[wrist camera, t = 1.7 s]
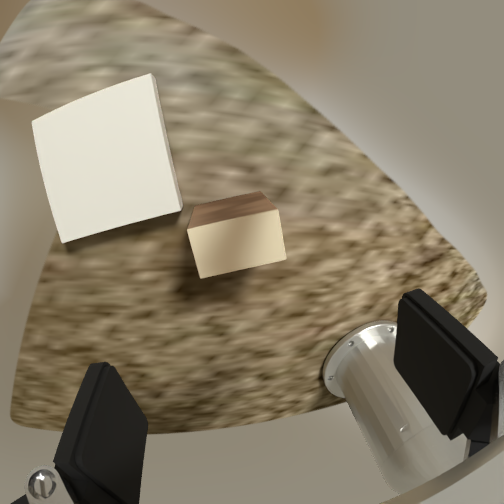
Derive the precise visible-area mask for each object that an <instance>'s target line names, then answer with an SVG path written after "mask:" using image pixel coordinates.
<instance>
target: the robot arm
mask: <svg viewBox="0 0 504 504" xmlns="http://www.w3.org/2000/svg"><path fill="white" fill-rule="evenodd" d="M497 359H498V357H497V356H496V355H495V354H494V353H493V352H492V351H490V349H488V348H487V347H486V346H485V345H484V344H483V343H482V342H481V341H480V340H479V339H478V338H476V337H475V336H474V335H473V334H472V333H471V332H470V331H469V330H468V329H467V328H466V327H464V326H463V325H462V324H461V323H460V322H459V321H458V320H457V319H455V318H454V317H453V316H452V315H451V314H450V313H449V312H447V311H446V310H445V309H444V308H443V307H442V306H440V305H439V304H438V303H437V302H436V301H434V300H433V299H432V298H431V297H430V296H429V295H427V294H426V293H425V292H424V291H422V290H421V289H415V290H413V291H410V292H407V293H404V294H403V296H402V299H400V300H399V304H398V318H397V323H396V322H392V321H383V320H382V321H375V322H371V323H368V324H365V325H363V326H361V327H359V328H357V329H355V330H353V331H352V332H350V333H349V334H347V335H346V336H345V337H344V338H342V339H341V340H340V341H339V342H338V343H337V344H336V345H335V346H334V348H333V349H332V350H331V352H330V353H329V355H328V356H327V359H326V361H325V363H324V367H323V380H324V383H325V385H326V387H327V389H328V390H329V391H330V392H331V393H332V394H334V395H335V396H338V397H341V398H346V401H347V403H348V404H349V407H350V409H351V411H352V413H353V415H354V417H355V419H356V421H357V423H358V425H359V427H360V430H361V431H362V434H363V436H364V438H365V440H366V442H367V444H368V446H369V448H370V451H371V452H372V454H373V457H374V459H375V461H376V463H377V465H378V467H379V470H380V471H381V474H382V476H383V478H384V480H385V482H386V483H387V485H388V486H389V487H390V488H391V489H392V490H393V491H395V492H397V493H398V494H401V495H399V496H397V497H395V498H392V499H390V500H388V501H385V502H383V503H380V504H504V360H503V361H502V362H501V364H499V362H497ZM147 430H148V422H147V419H146V417H145V415H144V414H143V412H142V411H141V409H140V408H139V406H138V404H137V403H136V401H135V400H134V398H133V397H132V395H131V394H130V392H129V390H128V389H127V387H126V385H125V384H124V382H123V380H122V379H121V377H120V375H119V374H118V372H117V370H116V369H115V367H114V366H110V364H109V363H107V362H101V363H93V364H90V366H89V368H88V370H87V372H86V374H85V377H84V379H83V382H82V384H81V386H80V389H79V391H78V394H77V396H76V399H75V401H74V404H73V406H72V409H71V412H70V414H69V417H68V419H67V422H66V425H65V428H64V430H63V433H62V436H61V439H60V442H59V445H58V448H57V451H56V454H55V457H54V460H53V462H54V463H55V468H53V467H51V466H47V465H43V466H39V467H36V468H35V469H33V470H32V471H31V472H30V473H29V474H28V476H27V478H26V481H25V493H26V494H25V495H24V496H22V497H20V498H19V499H17V500H16V501H14V502H13V503H11V504H139V498H140V487H141V477H142V468H143V460H144V452H145V444H146V437H147Z"/></svg>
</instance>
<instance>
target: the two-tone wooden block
mask: <svg viewBox="0 0 504 504" xmlns="http://www.w3.org/2000/svg"><path fill="white" fill-rule="evenodd" d="M187 232H188V236H189V239H190V243H191V247H192V250H193V254H194V258H195V261H196V265H197V268H198V272H199V275H200V279H201V278H206V277H210V276H215V275H219V274H224V273H228V272H233V271H237V270H242V269H246V268H250V267H255V266H259V265H264V264H268V263H272V262H277V261H281V260H286V253H285V247H284V241H283V235H282V229H281V224H280V218H279V212H278V209H277V208H276V207H275V206H274V205H273V204H272V203H271V202H270V201H269V200H268V199H267V198H266V197H265V196H264V194H263V193H262V192H261V191H259V192H254V193H249V194H245V195H240V196H235V197H231V198H226V199H222V200H217V201H213V202H209V203H204V204H200V205H196V206H195V207H194V210H193V213H192V216H191V219H190V222H189V226H188V229H187Z"/></svg>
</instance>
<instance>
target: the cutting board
mask: <svg viewBox="0 0 504 504" xmlns="http://www.w3.org/2000/svg"><path fill="white" fill-rule="evenodd" d="M32 127H33V133H34V138H35V143H36V149H37V154H38V159H39V163H40V167H41V172H42V176H43V180H44V184H45V188H46V192H47V196H48V200H49V203H50V206H51V210H52V213H53V217H54V220H55V223H56V226H57V229H58V233H59V236H60V239H61V241H62V243H65V242H68V241H72V240H75V239H78V238H82V237H85V236H88V235H92V234H95V233H99V232H102V231H106V230H109V229H113V228H116V227H120V226H124V225H127V224H131V223H135V222H138V221H142V220H146V219H150V218H154V217H157V216H161V215H165V214H169V213H173V212H177V211H181V209H182V207H183V203H182V199H181V195H180V191H179V187H178V182H177V178H176V174H175V170H174V165H173V161H172V157H171V152H170V148H169V143H168V139H167V134H166V129H165V125H164V120H163V115H162V110H161V105H160V100H159V95H158V90H157V85H156V79H155V77H154V76H153V75H152V74H147V75H144V76H141V77H138V78H134V79H131V80H128V81H125V82H122V83H119V84H117V85H114V86H111V87H108V88H105V89H103V90H100V91H98V92H95V93H92V94H90V95H88V96H85V97H83V98H80V99H78V100H76V101H73V102H71V103H69V104H66V105H64V106H62V107H60V108H58V109H56V110H53V111H51V112H50V113H47V114H45V115H43V116H41V117H39V118H37V119H35V120H33V121H32Z"/></svg>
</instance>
